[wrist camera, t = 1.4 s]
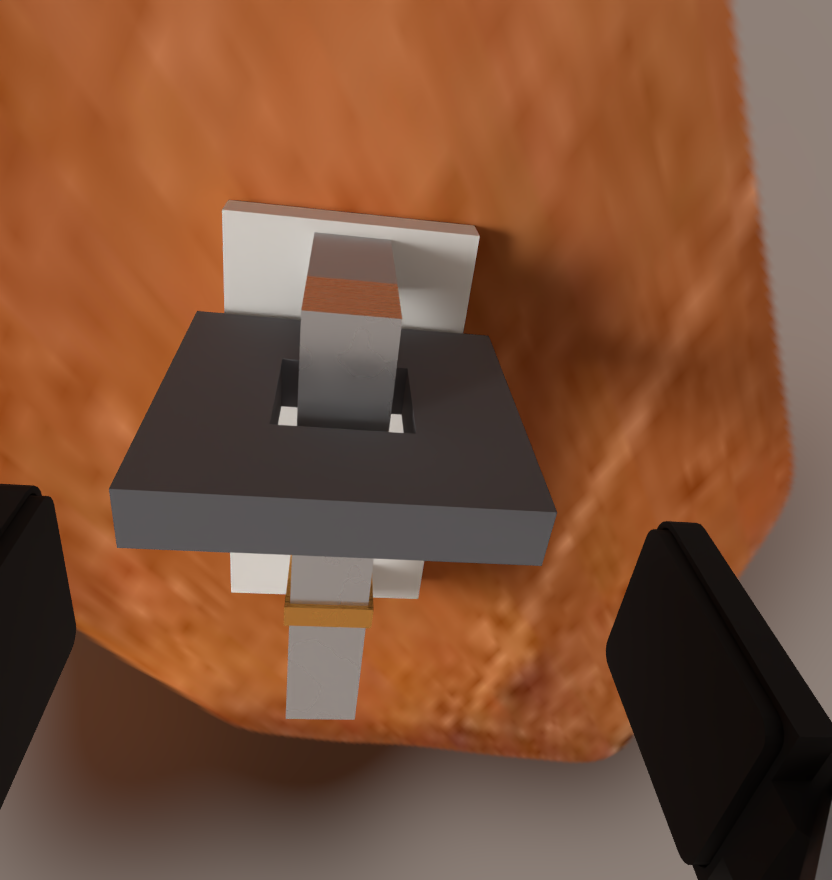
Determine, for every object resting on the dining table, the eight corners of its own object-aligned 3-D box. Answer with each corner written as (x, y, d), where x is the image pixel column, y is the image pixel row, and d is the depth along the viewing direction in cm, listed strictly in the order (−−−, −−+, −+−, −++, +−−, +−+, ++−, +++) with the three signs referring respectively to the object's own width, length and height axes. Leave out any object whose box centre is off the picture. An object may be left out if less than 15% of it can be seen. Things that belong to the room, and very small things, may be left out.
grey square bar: (301, 273, 23) (293, 312, 20) (402, 282, 24) (409, 322, 21) (287, 659, 33) (280, 722, 30) (358, 661, 34) (359, 723, 31)
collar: (197, 311, 28) (109, 488, 18) (488, 335, 30) (556, 512, 20) (199, 356, 29) (117, 547, 19) (480, 377, 31) (541, 565, 21)
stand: (227, 199, 28) (197, 250, 22) (474, 225, 29) (501, 279, 24) (235, 572, 38) (215, 668, 33) (415, 579, 40) (425, 673, 34)
